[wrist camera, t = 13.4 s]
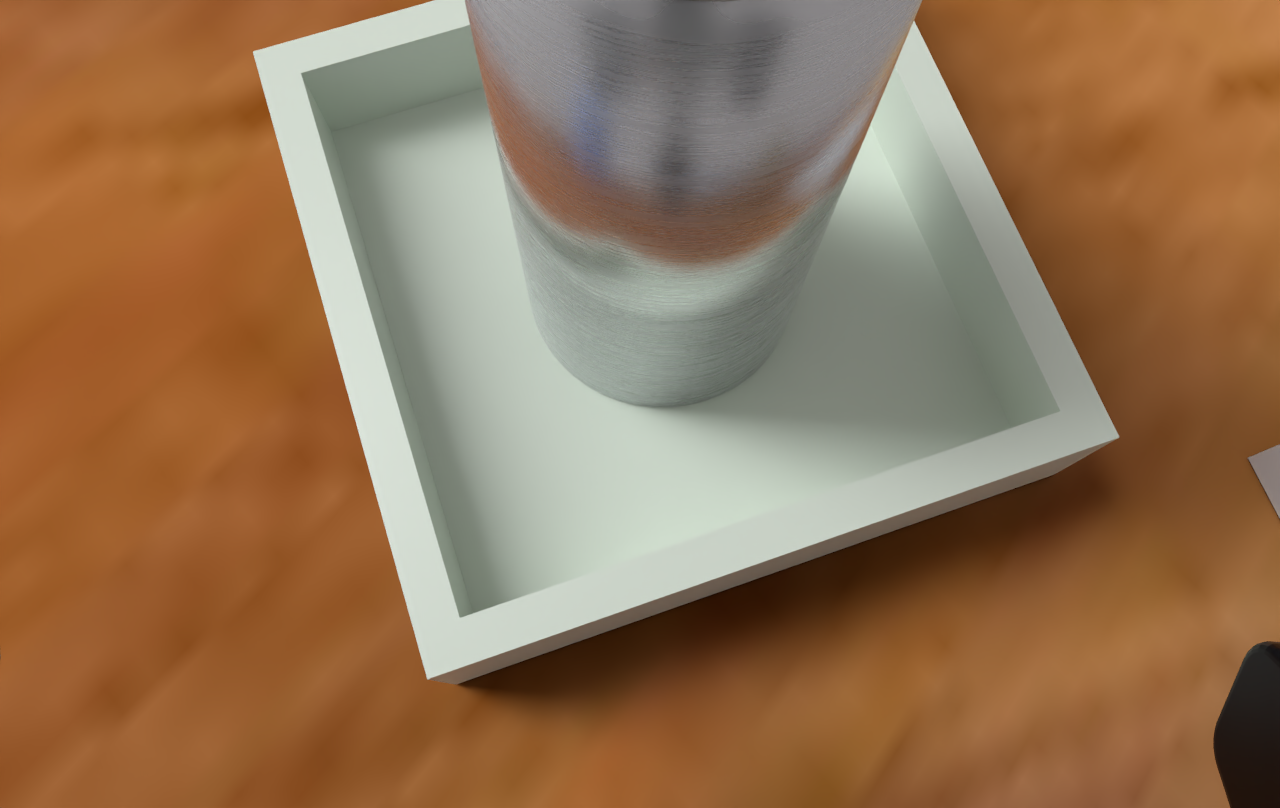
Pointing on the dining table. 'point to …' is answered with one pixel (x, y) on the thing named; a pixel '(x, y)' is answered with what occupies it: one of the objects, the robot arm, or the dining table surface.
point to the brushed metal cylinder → (676, 171)
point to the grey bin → (1269, 473)
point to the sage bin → (639, 435)
